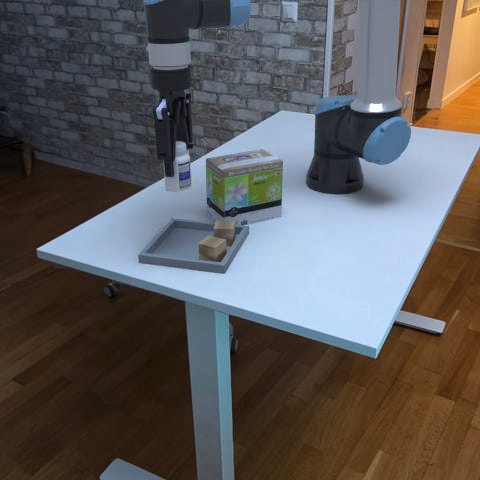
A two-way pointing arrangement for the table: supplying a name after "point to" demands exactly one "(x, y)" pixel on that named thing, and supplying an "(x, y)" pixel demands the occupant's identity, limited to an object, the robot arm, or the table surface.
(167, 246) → the tray
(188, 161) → the pill bottle
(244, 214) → the tea box
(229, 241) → the oak cube
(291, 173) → the table surface
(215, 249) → the oak cube
